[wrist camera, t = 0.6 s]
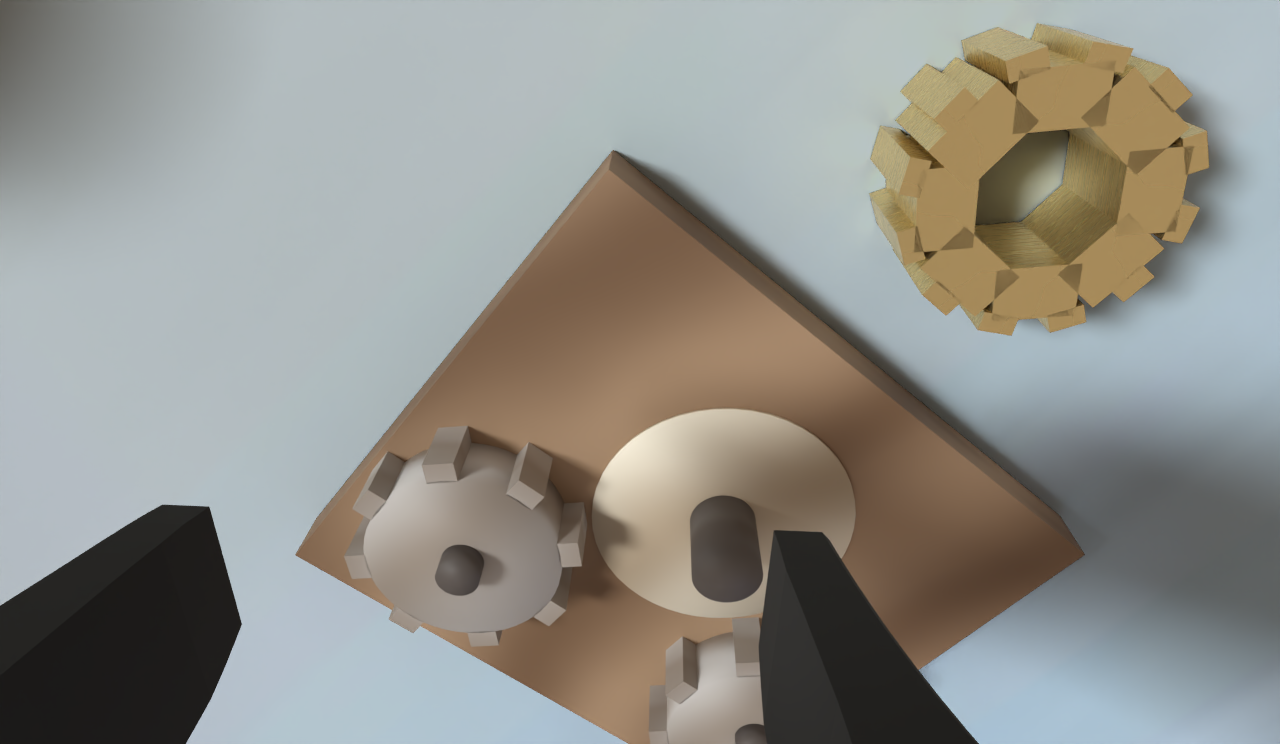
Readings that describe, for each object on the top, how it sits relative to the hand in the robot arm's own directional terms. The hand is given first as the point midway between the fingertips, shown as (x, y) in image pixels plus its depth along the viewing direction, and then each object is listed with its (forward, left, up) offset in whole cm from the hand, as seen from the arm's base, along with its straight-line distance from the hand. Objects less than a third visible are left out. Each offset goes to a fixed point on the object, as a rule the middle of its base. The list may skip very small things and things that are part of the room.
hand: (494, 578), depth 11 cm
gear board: (-6, +3, -10) cm, 12 cm away
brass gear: (-5, -8, -10) cm, 14 cm away
